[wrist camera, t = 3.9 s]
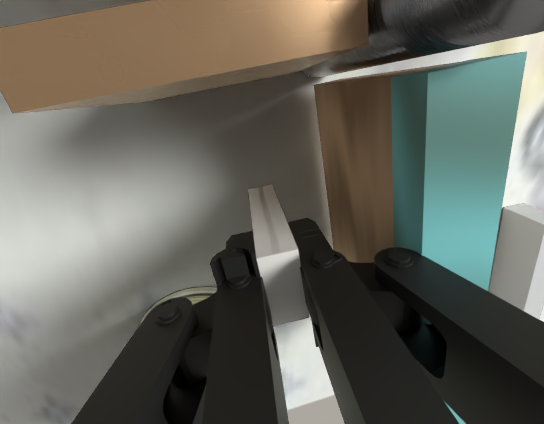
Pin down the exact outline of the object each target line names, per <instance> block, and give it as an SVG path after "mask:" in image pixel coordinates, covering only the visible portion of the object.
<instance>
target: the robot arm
mask: <svg viewBox="0 0 544 424" xmlns="http://www.w3.org/2000/svg"><path fill="white" fill-rule="evenodd" d="M248 194H249V202H250V210H251V219H252V227H253V231H250V232H245V233H241V234H236V235H231V237H230V238H229V240H228V241H227V242H226V249H225V250H223V251H221V252H219V253H217V254H216V255H215V256H214V257H213V258H212V260H211V262H210V266H211V269H212V272H213V275H214V278H215V281H216V284H217V291H216V292H215V293H214V294H213V295H211V296H210V297H208V298H206V299H204V300H202V301H200V302H198V303H195V304H193V305H192V302H191V301H190V300H189V299H187V298H184V297H176V298H171V299H168V300H166V301H164V302H161V303H160V304H159V305H157V306H156V307H154V308H153V309H152V310H151V311H150V312H149V313H148V314H147V316H146V317H145V319H144V320H143V322H142V323H141V324H140V326H139V327H138V329H137V330H136V332H135V333H134V334H133V336H132V337H131V339H130V340H129V342H128V343H127V344H126V346H125V347H124V349H123V350H122V352H121V353H120V355H119V356H118V357H117V359H116V360H115V362H114V363H113V365H112V366H111V367H110V369H109V370H108V372H107V373H106V375H105V376H104V378H103V379H102V380H101V382H100V383H99V385H98V386H97V388H96V389H95V390H94V392H93V393H92V395H91V396H90V398H89V399H88V401H87V402H86V403H85V405H84V406H83V408H82V409H81V411H80V412H79V413H78V415H77V416H76V418H75V419H74V421H73V422H72V424H289V421H288V415H287V408H286V402H285V395H284V388H283V382H282V375H281V369H280V362H279V355H278V349H277V342H276V337H275V333H274V329H273V326H275V325H279V324H283V323H288V322H292V321H296V320H301V319H305V318H309V314H310V317H311V319H312V325H313V331H314V337H315V343H316V347H318V346H319V348H320V351H321V354H322V357H323V360H324V363H325V366H326V369H327V372H328V375H329V378H330V381H331V384H332V387H333V390H334V393H335V396H336V399H337V402H338V405H339V408H340V411H341V414H342V417H343V419H344V423H345V424H459V422H458V421H457V419H456V418H455V416H454V415H453V414H452V412H451V411H450V409H449V408H448V406H449V407H450V408H451V409H452V410H453V411H454V412H455V413H456V414H457V415H458V416H459V417H460V418H461V419H462V420H463V421H464V422H465V423H466V424H544V322H543V321H541V320H539V319H537V318H535V317H534V316H532V315H530V314H528V313H526V312H524V311H523V310H521V309H519V308H517V307H515V306H514V305H512V304H510V303H508V302H506V301H505V300H503V299H501V298H499V297H497V296H496V295H494V294H492V293H490V292H488V291H487V290H485V289H483V288H481V287H479V286H478V285H476V284H474V283H472V282H470V281H468V280H467V279H465V278H463V277H461V276H459V275H458V274H456V273H454V272H452V271H450V270H449V269H447V268H445V267H443V266H441V265H440V264H438V263H436V262H434V261H432V260H431V259H429V258H427V257H425V256H422V255H421V254H419V253H418V252H416V251H413V250H411V249H407V248H401V247H395V248H387V249H383V250H381V251H380V252H378V253H377V254H376V256H375V257H374V263H355V262H349V261H348V260H347V259H346V257H345V256H343V255H342V254H341V253H339V252H337V251H334V250H332V248H331V246H330V245H329V243H328V242H327V240H326V238H325V237H324V235H323V234H322V232H321V230H320V229H319V227H318V226H317V224H316V222H314V221H312V220H310V219H308V218H305V219H300V220H296V221H291V222H287V220H286V218H285V215H284V213H283V210H282V208H281V205H280V203H279V200H278V198H277V195H276V193H275V190H274V188H273V185H272V184H269V185H265V186H260V187H255V188H251V189H248ZM446 404H447V405H448V406H447V405H446Z"/></svg>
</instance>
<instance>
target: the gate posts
mask: <svg viewBox="0 0 544 424" xmlns="http://www.w3.org/2000/svg"><path fill="white" fill-rule="evenodd" d="M542 31H544V0H149V1H143V2H138V3H133V4H127V5H122V6H116V7H111V8H105V9H100V10H94V11H89V12H83V13H78V14H73V15H67V16H62V17H56V18H51V19H45V20H40V21H34V22H29V23H23V24H18V25H13V26H7V27H2V28H0V90H1V92H2V94H3V96H4V98H5V100H6V102H7V104H8V105H9V107H10V109H11V111H12V113H24V112H35V111H47V110H58V109H70V108H81V107H93V106H104V105H116V104H127V103H138V102H146V101H151V100H156V99H161V98H167V97H172V96H177V95H182V94H187V93H192V92H197V91H202V90H208V89H213V88H218V87H223V86H228V85H233V84H238V83H243V82H248V81H254V80H259V79H264V78H269V77H274V76H279V75H284V74H289V73H294V72H297V71H300V70H302V71H303V72H304V73H305V74H307V75H309V76H311V77H323V76H328V75H333V74H338V73H342V72H347V71H352V70H357V69H362V68H367V67H372V66H377V65H382V64H387V63H392V62H396V61H401V60H406V59H411V58H416V57H421V56H426V55H431V54H436V53H441V52H446V51H450V50H455V49H460V48H465V47H470V46H475V45H480V44H485V43H490V42H495V41H499V40H504V39H509V38H514V37H519V36H524V35H529V34H534V33H538V32H542Z"/></svg>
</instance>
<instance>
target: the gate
mask: <svg viewBox="0 0 544 424" xmlns="http://www.w3.org/2000/svg"><path fill="white" fill-rule="evenodd" d="M526 55H527V52H520V53H513V54H507V55H500V56H493V57H486V58H479V59H472V60H467V61H463V62H457V63H450V64H443V65H436V66H429V67H422V68H415V69H408V70H401V71H394V72H387V73H380V74H373V75H366V76H359V77H352V78H345V79H339V80H335V81H330V82H325V83H321V84H316V85H314V92H315V100H316V108H317V116H318V125H319V133H320V141H321V149H322V158H323V166H324V174H325V182H326V190H327V199H328V207H329V215H330V223H331V231H332V240H333V248H334V251H337V252H339V253H341V254H342V255H343V256H345V257H346V259H347V260H348V261H349V262H355V263H374V257H375V256H376V254H377V253H378V252H380V251H381V250H383V249H387V248H395V247H401V248H407V249H411V250H413V251H416V252H418V253H419V254H421V255H422V256H425V257H427V258H429V259H431V260H432V261H434V262H436V263H438V264H440V265H441V266H443V267H445V268H447V269H449V270H450V271H452V272H454V273H456V274H458V275H459V276H461V277H463V278H465V279H467V280H468V281H470V282H472V283H474V284H476V285H478V286H479V287H481V288H483V289H485V290H487V291H488V288H489V282H490V276H491V270H492V264H493V258H494V252H495V245H496V239H497V233H498V227H499V221H500V215H501V208H502V202H503V196H504V190H505V184H506V178H507V172H508V165H509V159H510V153H511V147H512V141H513V135H514V128H515V122H516V116H517V110H518V104H519V98H520V92H521V85H522V79H523V73H524V67H525V61H526ZM446 405H447V404H446ZM447 406H448V405H447ZM448 408H449V409H450V411H451V412H452V414H453V415H454V416H455V418H456V419H457V421H458V422H459V424H466V423H465V422H464V421H463V420H462V419H461V418H460V417H459V416H458V415H457V414H456V413H455V412H454V411H453V410H452V409H451V408H450V407H449V406H448Z"/></svg>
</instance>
